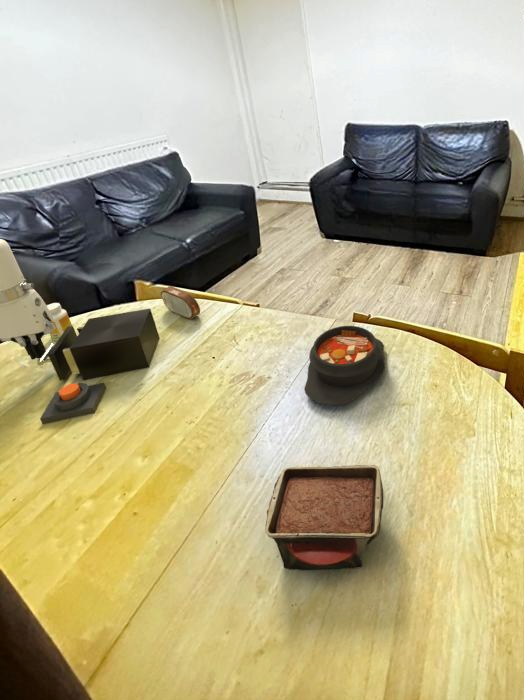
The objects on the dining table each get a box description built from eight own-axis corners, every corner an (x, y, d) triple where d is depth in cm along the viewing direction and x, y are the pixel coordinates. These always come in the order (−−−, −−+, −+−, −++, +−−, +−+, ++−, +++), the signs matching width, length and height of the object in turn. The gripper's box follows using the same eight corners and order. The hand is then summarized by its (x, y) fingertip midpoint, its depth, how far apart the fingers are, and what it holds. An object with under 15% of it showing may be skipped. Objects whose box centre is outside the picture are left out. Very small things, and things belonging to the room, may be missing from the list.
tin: (203, 318, 124) (197, 294, 120) (194, 323, 121) (187, 299, 118) (172, 305, 131) (165, 282, 127) (163, 310, 128) (156, 287, 125)
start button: (58, 402, 90) (55, 396, 90) (65, 391, 93) (62, 385, 93) (77, 398, 91) (74, 392, 90) (83, 387, 94) (80, 381, 94)
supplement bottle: (73, 327, 122) (62, 299, 118) (75, 335, 118) (63, 306, 114) (51, 334, 119) (38, 306, 115) (52, 343, 115) (39, 314, 111)
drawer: (39, 384, 99) (26, 358, 96) (59, 354, 109) (48, 329, 106) (122, 368, 103) (112, 342, 100) (134, 340, 113) (125, 316, 110)
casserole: (336, 334, 114) (334, 308, 110) (400, 348, 107) (399, 321, 104) (285, 399, 93) (280, 370, 89) (361, 421, 86) (358, 391, 83)
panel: (42, 424, 89) (36, 412, 87) (58, 397, 96) (52, 386, 94) (94, 413, 91) (89, 401, 90) (106, 387, 98) (101, 376, 97)
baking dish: (298, 488, 75) (281, 454, 71) (394, 486, 72) (382, 450, 68) (272, 583, 63) (250, 549, 58) (387, 585, 60) (372, 549, 55)
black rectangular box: (83, 380, 101) (69, 348, 97) (100, 348, 112) (88, 318, 108) (149, 367, 104) (138, 336, 100) (159, 337, 116) (150, 308, 112)
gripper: (51, 278, 99) (78, 339, 107) (-22, 289, 96) (11, 352, 103) (37, 293, 93) (67, 358, 100) (-43, 306, 89) (-6, 372, 97)
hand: (38, 355), depth 102 cm, fingers closed
